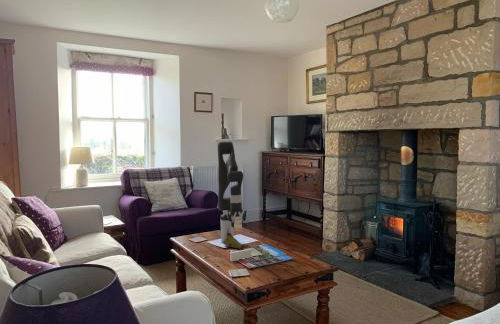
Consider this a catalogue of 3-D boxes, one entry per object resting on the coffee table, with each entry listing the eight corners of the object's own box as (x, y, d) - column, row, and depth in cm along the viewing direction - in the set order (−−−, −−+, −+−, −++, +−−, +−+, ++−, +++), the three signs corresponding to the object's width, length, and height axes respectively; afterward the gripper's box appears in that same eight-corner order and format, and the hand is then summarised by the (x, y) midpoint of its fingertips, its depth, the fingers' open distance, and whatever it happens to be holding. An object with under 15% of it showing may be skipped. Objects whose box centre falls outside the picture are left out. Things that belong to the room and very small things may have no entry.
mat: (243, 249, 246) (243, 249, 246) (252, 248, 249) (252, 247, 249) (253, 257, 232) (253, 256, 232) (262, 255, 234) (262, 254, 234)
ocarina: (246, 249, 247) (245, 235, 246) (241, 251, 243) (240, 237, 242) (225, 244, 260) (225, 230, 259) (220, 246, 256) (219, 232, 255)
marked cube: (232, 227, 236) (231, 218, 235) (238, 226, 238) (238, 217, 237) (234, 229, 231) (234, 220, 231) (241, 228, 233) (241, 219, 233)
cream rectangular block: (230, 260, 226) (230, 252, 226) (250, 257, 232) (250, 248, 231) (231, 261, 225) (231, 253, 224) (251, 257, 230) (251, 249, 230)
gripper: (243, 199, 239) (244, 224, 241) (223, 201, 233) (224, 226, 235) (248, 201, 232) (249, 226, 234) (227, 203, 227) (228, 229, 228)
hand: (236, 226), depth 234 cm, fingers closed on marked cube, 5 cm apart
